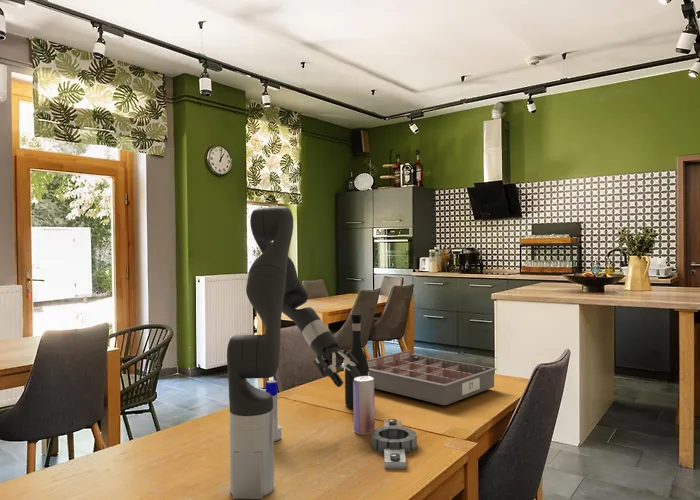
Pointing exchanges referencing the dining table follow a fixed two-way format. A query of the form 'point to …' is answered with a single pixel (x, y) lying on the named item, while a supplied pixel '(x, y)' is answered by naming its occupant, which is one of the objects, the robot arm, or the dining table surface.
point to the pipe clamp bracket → (394, 443)
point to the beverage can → (364, 405)
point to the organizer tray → (429, 377)
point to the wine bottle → (359, 356)
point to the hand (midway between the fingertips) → (350, 382)
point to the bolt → (274, 408)
